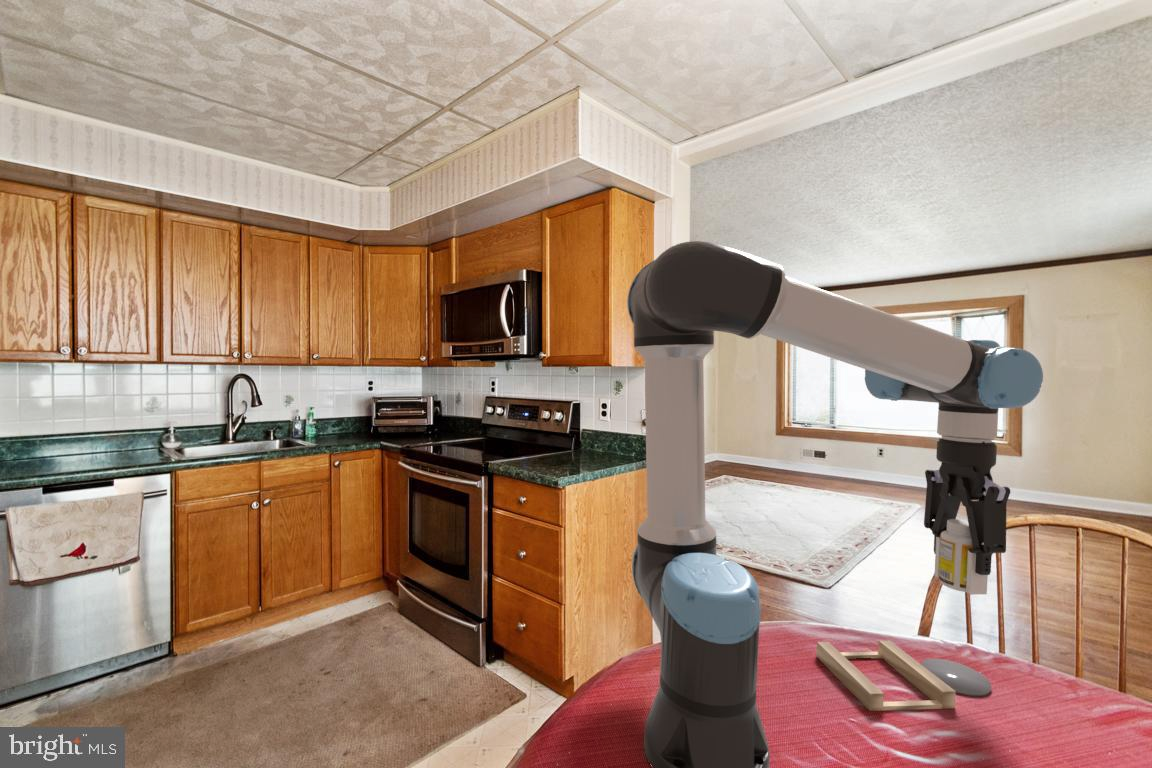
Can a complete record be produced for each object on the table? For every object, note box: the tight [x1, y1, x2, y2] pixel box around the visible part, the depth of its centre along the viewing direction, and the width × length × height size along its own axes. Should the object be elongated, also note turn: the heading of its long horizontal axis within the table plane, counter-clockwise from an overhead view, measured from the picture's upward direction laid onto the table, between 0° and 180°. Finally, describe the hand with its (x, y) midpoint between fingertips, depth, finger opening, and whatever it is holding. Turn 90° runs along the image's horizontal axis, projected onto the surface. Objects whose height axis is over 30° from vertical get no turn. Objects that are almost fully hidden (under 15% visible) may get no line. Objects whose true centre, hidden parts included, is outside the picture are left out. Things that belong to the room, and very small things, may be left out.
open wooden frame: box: [816, 639, 957, 712], centre depth 82 cm, size 13×14×2 cm
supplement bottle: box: [938, 518, 984, 593], centre depth 82 cm, size 6×6×10 cm
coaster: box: [920, 658, 992, 697], centre depth 83 cm, size 9×9×1 cm
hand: (959, 584), depth 82 cm, fingers closed on supplement bottle, 6 cm apart
